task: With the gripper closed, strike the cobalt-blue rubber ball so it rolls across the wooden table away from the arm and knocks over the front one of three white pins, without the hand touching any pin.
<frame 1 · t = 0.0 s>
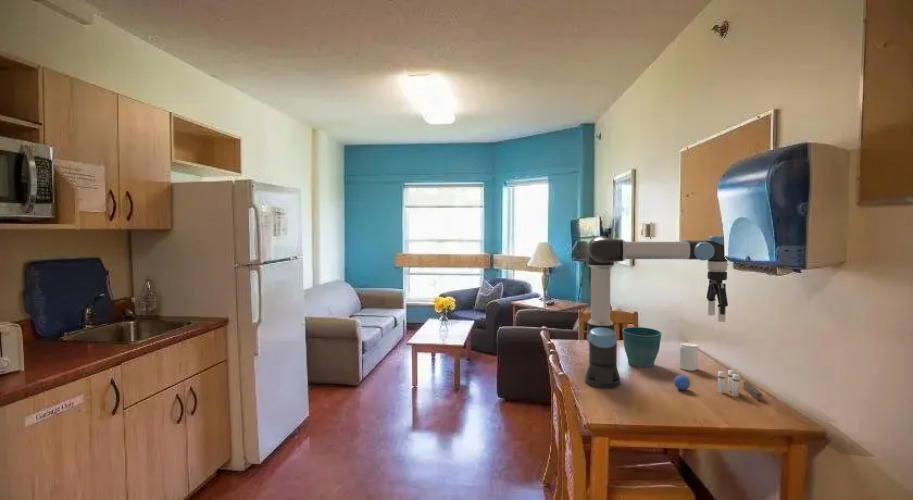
hand: (716, 318, 198), 28 cm above the table, tool pointing down, fingers open, 13 cm apart
flower pot: (641, 365, 223), on the table
beverage can: (688, 369, 216), on the table
pin 2: (735, 395, 182), on the table
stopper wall: (752, 394, 183), on the table
pin 1: (731, 390, 187), on the table
front pin: (721, 392, 185), on the table
ball: (682, 382, 189), on the table
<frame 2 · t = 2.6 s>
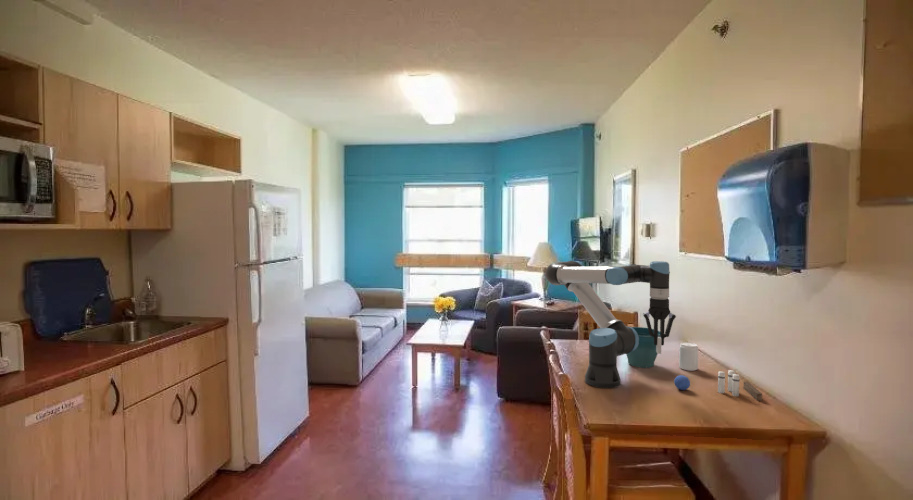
hand: (658, 352, 190), 15 cm above the table, tool pointing down, fingers closed
nothing on the table moved.
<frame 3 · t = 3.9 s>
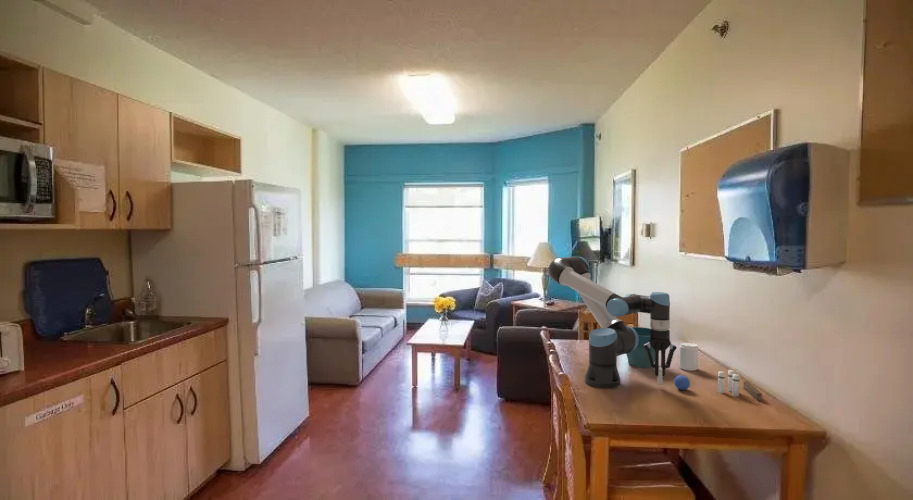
hand: (659, 383, 191), 2 cm above the table, tool pointing down, fingers closed
nothing on the table moved.
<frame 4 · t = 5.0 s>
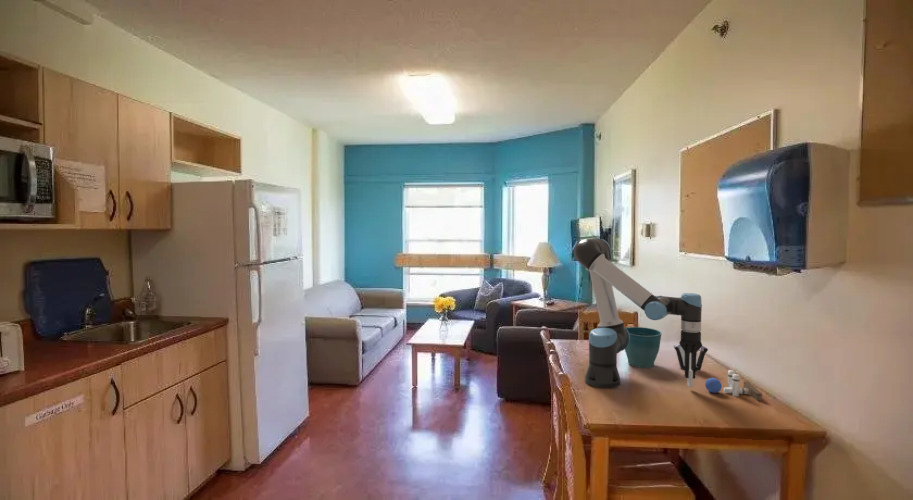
hand: (689, 385, 188), 2 cm above the table, tool pointing down, fingers closed
front pin: (724, 390, 185), point 1 cm above the table, tilted 88°
ball: (713, 385, 185), on the table
everything else where it was.
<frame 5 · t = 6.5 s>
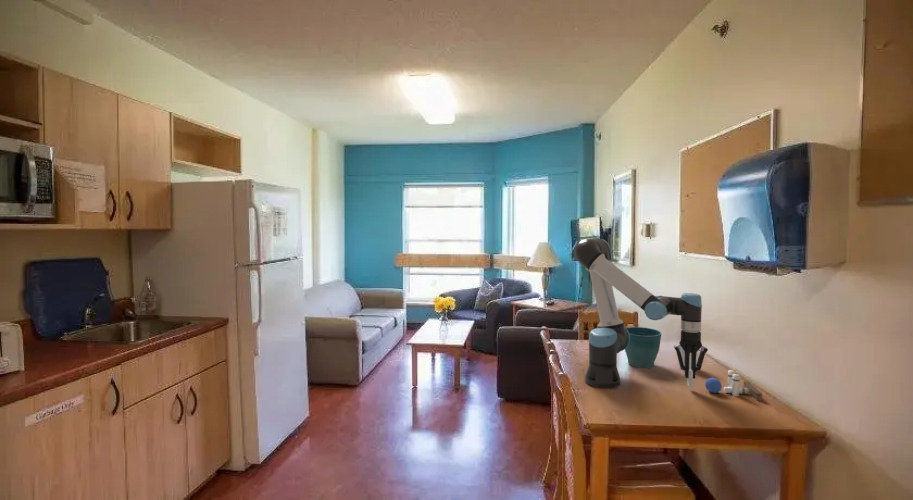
hand: (689, 385, 188), 2 cm above the table, tool pointing down, fingers closed
nothing on the table moved.
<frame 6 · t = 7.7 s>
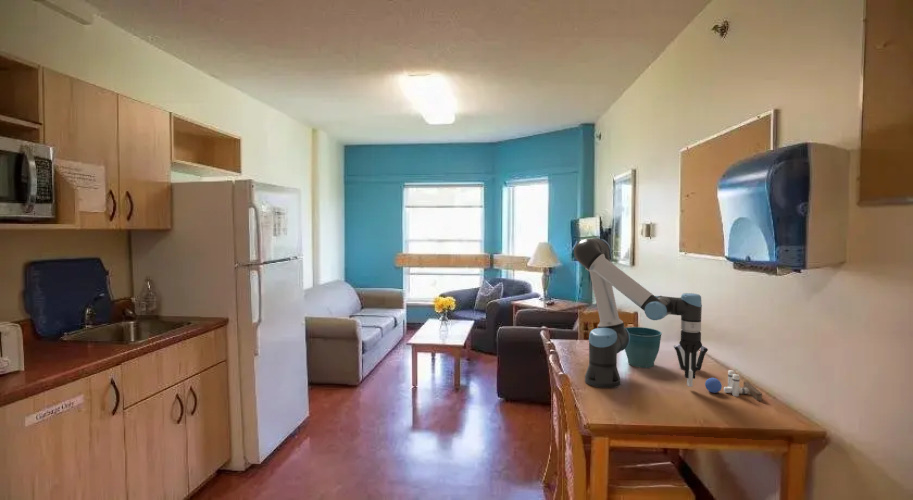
hand: (689, 385, 188), 2 cm above the table, tool pointing down, fingers closed
nothing on the table moved.
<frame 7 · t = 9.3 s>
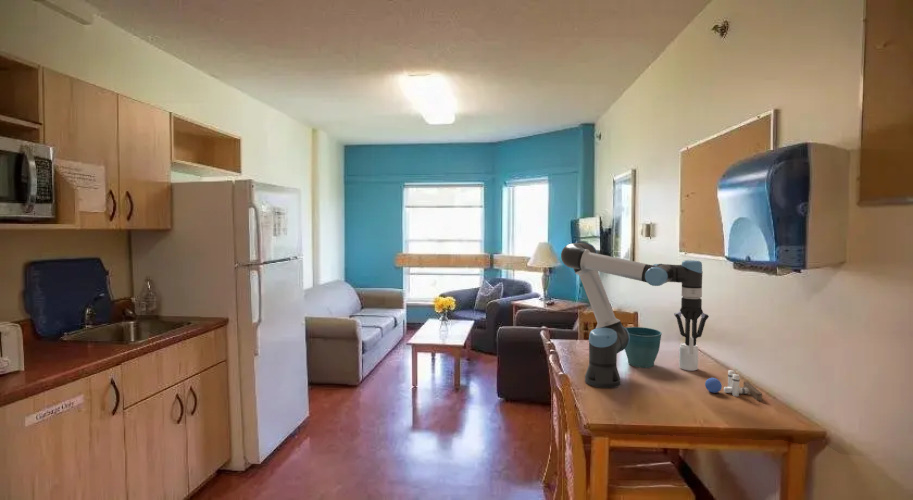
hand: (690, 353, 187), 16 cm above the table, tool pointing down, fingers closed
nothing on the table moved.
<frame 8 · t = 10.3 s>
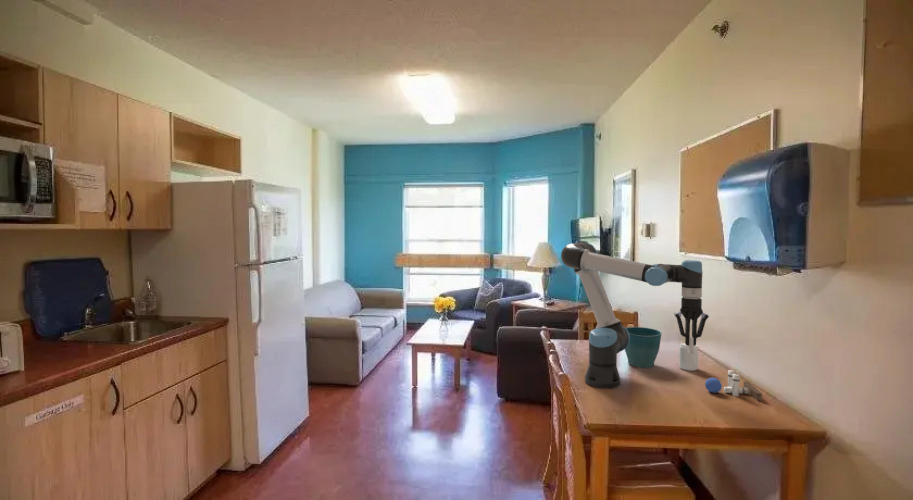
hand: (690, 353, 187), 16 cm above the table, tool pointing down, fingers closed
nothing on the table moved.
at the end: front pin tilted 90°; front pin never touched the robot; ball moved 11.8 cm from its start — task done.
